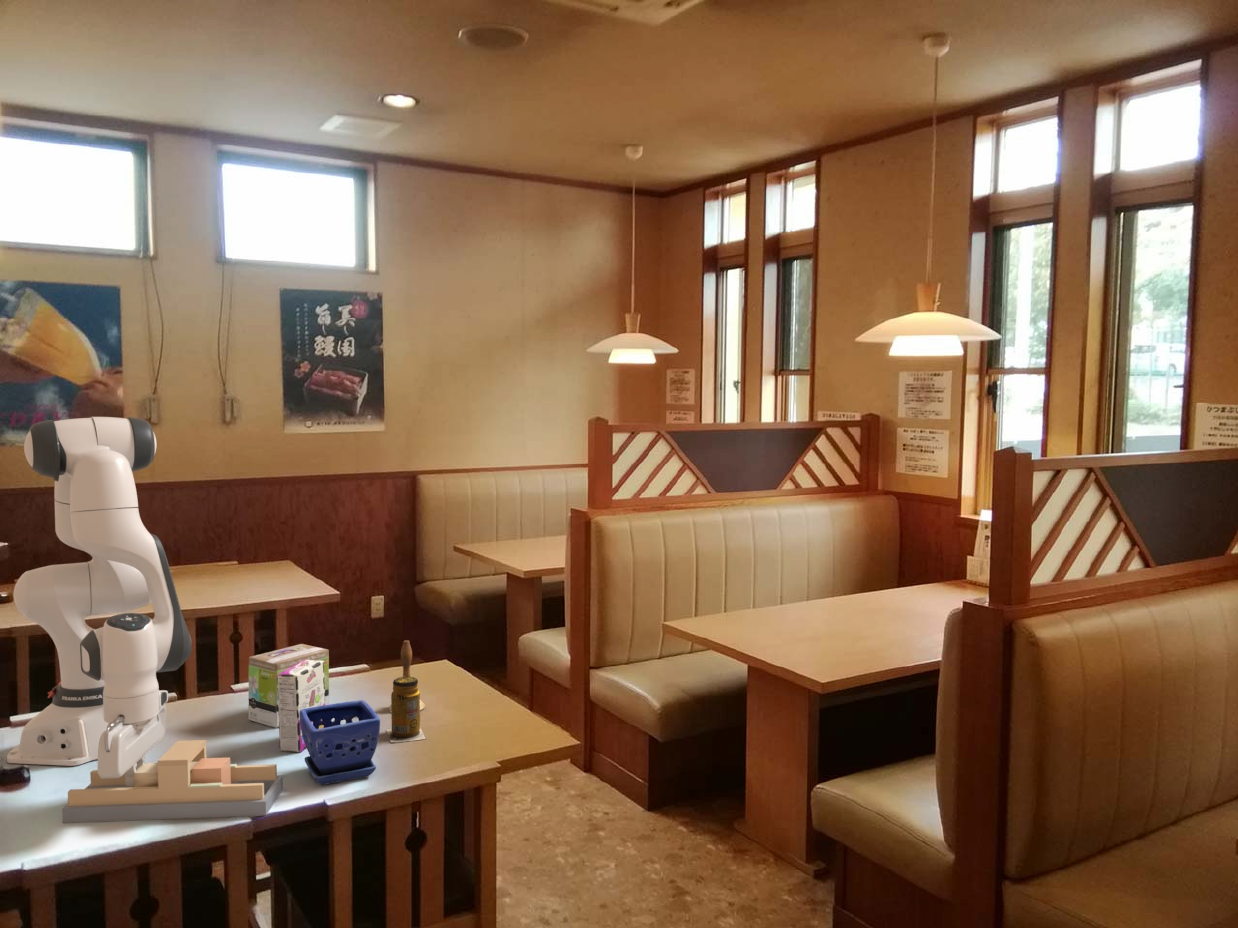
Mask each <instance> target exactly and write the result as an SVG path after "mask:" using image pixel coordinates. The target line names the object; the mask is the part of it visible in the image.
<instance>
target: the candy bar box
mask: <svg viewBox="0 0 1238 928" xmlns="http://www.w3.org/2000/svg"><path fill="white" fill-rule="evenodd" d="M277 688H278V689H277V690H278V712H279V727H278V734H279V735H278V737H279V738H278V739H279V751H280V752H287V753H288V752H289V753H302V752H303V751H304V750H306V749H307V748H306V745H305V742H304V739H303V735H302V731H301V726H300V715H299V712H300V710H301V709H306V708H312V707H318V706H324V705H325V684H324V661H320V660H303V661H301V662H299V663H298V664H296V665H294V666H292V667H290V668H288V669H286V670H285V671H283V672H281V673H279V674H277ZM321 721H322V720H321ZM311 723H312V724H313V721H311ZM321 728H324V725H320V726H319V729H321Z"/></svg>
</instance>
